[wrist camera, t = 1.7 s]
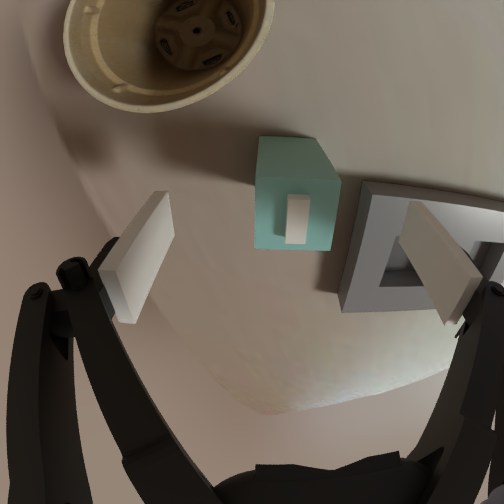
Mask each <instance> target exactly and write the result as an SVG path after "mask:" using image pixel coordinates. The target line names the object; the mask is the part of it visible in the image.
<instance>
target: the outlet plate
mask: <svg viewBox="0 0 504 504" xmlns="http://www.w3.org/2000/svg"><path fill="white" fill-rule="evenodd" d="M410 200H412V201H421V202H422V203H423V204H424V205H425V206H426V207H427V209H428V210H429V211H430V212H431V213H432V214H433V215H434V216H435V217H436V219H437V220H438V221H439V222H440V223H441V224H442V225H443V227H444V228H445V229H446V230H447V231H448V232H449V234H450V235H451V236H452V237H453V238H454V240H455V241H456V242H457V243H458V245H459V246H460V247H461V248H463V249H464V250H465V251H466V252H467V253H468V254H469V255H470V257H471V258H472V260H473V261H474V262H475V263H476V265H477V266H478V267H479V269H480V270H481V271H482V273H483V274H484V275H485V277H486V278H487V280H488V281H494V282H497V283H499V284H500V285H501V283H502V282H503V280H504V202H501V201H496V200H491V199H486V198H481V197H476V196H471V195H465V194H459V193H453V192H447V191H441V190H435V189H428V188H421V187H413V186H406V185H397V184H389V183H380V182H370V181H362V187H361V193H360V198H359V203H358V209H357V214H356V219H355V223H354V228H353V233H352V237H351V242H350V246H349V251H348V255H347V259H346V263H345V267H344V271H343V275H342V279H341V283H340V287H339V291H338V298H339V302H340V307H341V311H342V313H354V312H387V311H408V310H426V309H436V308H435V306H434V304H433V302H432V300H431V298H430V296H429V294H428V292H427V290H426V288H425V287H424V285H423V283H422V281H421V279H420V278H419V276H418V274H417V272H416V270H415V269H414V267H413V265H412V263H411V262H410V260H409V258H408V257H407V255H406V253H405V252H404V250H403V248H402V247H401V245H400V243H399V242H398V241H399V238H400V235H401V231H402V228H403V224H404V221H405V217H406V213H407V210H408V206H409V202H410Z"/></svg>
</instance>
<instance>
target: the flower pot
mask: <svg viewBox="0 0 504 504" xmlns="http://www.w3.org/2000/svg"><path fill="white" fill-rule="evenodd" d="M189 1H193V3H194V4H193V5H192V6H190V7H188V8H185V9H183V10H181V11H180V12H179V11H178V10H177V7H178V6H179V5H181V4H184V3H187V2H189ZM274 6H275V0H71V1H70V4H69V6H68V9H67V12H66V16H65V20H64V31H63V44H64V49H65V56H66V58H67V62H68V64H69V67H70V69H71V71H72V73H73V75H74V77H75V78H76V79H77V81H78V82H79V83H80V85H81V86H82V87H83V88H84V89H85V90H86V91H87V92H88V93H89V94H91V95H92V96H93V97H94V98H95V99H97V100H99V101H101V102H103V103H104V104H106V105H109V106H111V107H113V108H116V109H119V110H124V111H129V112H135V113H155V112H164V111H170V110H174V109H178V108H181V107H184V106H187V105H190V104H192V103H195V102H197V101H199V100H201V99H203V98H205V97H207V96H209V95H211V94H213V93H214V92H216V91H217V90H219V89H221V88H222V87H223V86H225V85H226V84H228V83H229V82H230V81H231V80H233V79H234V78H235V77H236V76H237V75H238V74H239V73H241V72H242V70H243V69H244V68H245V67H246V66H247V65H248V64H249V63H250V62H251V61H252V59H253V58H254V57H255V56H256V54H257V53H258V51H259V49H260V48H261V46H262V44H263V43H264V41H265V39H266V37H267V34H268V32H269V29H270V26H271V23H272V19H273V14H274ZM228 11H230V13H231V14H232V16H233V18H234V20H235V23H234V24H233V25H232V24H231V22H230V20H227V19H228V15H227V14H226V13H227V12H228ZM195 28H199V29H200V32H199V33H198V34H196V33H194V29H195ZM163 39H165V40H167V42H168V46H169V47H170V49H171V51H172V53H171V54H169V53H168V52H167V51H166V50H165V49H164V47H163V45H162V43H161V41H162V40H163ZM217 55H221V57H222V58H221V59H220V60H219V61H218V62H216V63H213V64H212V65H205V64H204V61H206V60H209V59H210V58H213V57H215V56H217Z"/></svg>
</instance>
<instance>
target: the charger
mask: <svg viewBox="0 0 504 504" xmlns="http://www.w3.org/2000/svg"><path fill="white" fill-rule="evenodd" d="M341 184H342V180H341V179H340V177H339V175H338V174H337V172H336V170H335V169H334V167H333V165H332V164H331V162H330V160H329V159H328V157H327V156H326V154H325V152H324V151H323V149H322V148H321V146H320V145H319V143H318V141H317V140H316V139H313V138H297V137H275V136H259V144H258V155H257V165H256V175H255V249H279V250H314V251H330V249H331V244H332V238H333V233H334V227H335V222H336V216H337V210H338V203H339V197H340V190H341Z"/></svg>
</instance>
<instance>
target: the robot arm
mask: <svg viewBox="0 0 504 504" xmlns="http://www.w3.org/2000/svg"><path fill="white" fill-rule="evenodd" d="M174 236H175V234H174V228H173V222H172V215H171V209H170V202H169V194H168V191H155V192H154V193H153V194H152V195H151V197H150V198H149V199H148V200H147V202H146V203H145V204H144V206H143V207H142V208H141V209H140V211H139V212H138V213H137V215H136V216H135V217H134V219H133V220H132V221H131V223H130V224H129V225H128V227H127V228H126V230H125V231H124V232H123V234H122V235H121V236H120V237H114V238H112V239H111V240H110V241H108V242H107V243H106V244H105V246H104V247H103V248H102V250H101V252H99V254H98V255H97V257H96V258H95V259H94V261H93V262H92V264H91V265H90V267H89V266H88V263H87V261H86V259H85V258H83V257H73V258H70V259H68V260H66V261H64V262H63V263H62V264H61V265H60V266H59V267H58V269H57V271H56V275H57V277H58V280H59V282H60V284H61V286H62V288H63V289H60V290H55V291H51V289H50V287H49V286H48V285H47V283H44V282H39V283H36V284H34V285H32V286H31V287H29V289H28V290H27V291H26V292H25V294H24V296H23V300H22V304H21V309H20V313H19V317H18V322H17V327H16V332H15V338H14V344H13V350H12V357H11V364H10V372H9V382H8V394H7V416H6V421H7V422H6V424H7V425H6V434H7V435H6V436H7V458H8V469H9V479H10V487H9V495H8V504H93V501H92V496H91V491H90V487H89V483H88V478H87V474H86V469H85V464H84V459H83V453H82V447H81V441H80V435H79V428H78V419H77V411H76V399H75V385H74V361H73V337H75V338H76V341H77V345H78V348H79V351H80V354H81V358H82V360H83V364H84V367H85V370H86V372H87V375H88V378H89V381H90V383H91V386H92V389H93V391H94V394H95V396H96V399H97V401H98V404H99V406H100V409H101V411H102V413H103V416H104V418H105V420H106V422H107V425H108V427H109V429H110V431H111V433H112V435H113V437H114V439H115V441H116V443H117V445H118V447H119V449H120V451H121V453H122V456H123V458H122V464H123V467H124V469H125V471H126V473H127V475H128V477H129V479H130V481H131V482H132V484H133V486H134V487H135V489H136V490H137V492H138V494H139V495H140V497H141V498H142V500H143V501H144V503H145V504H474V502H475V499H476V497H477V495H478V493H479V490H480V488H481V485H482V483H483V480H484V478H485V475H486V472H487V470H488V467H489V464H490V461H491V465H490V473H489V482H488V499H487V500H485V501H483V502H482V503H481V504H504V287H503V286H502V285H500V284H499V283H497V282H494V281H488V280H487V278H486V277H485V275H484V274H483V273H482V271H481V270H480V269H479V267H478V266H477V265H476V263H475V262H474V261H473V260H472V258H471V257H470V255H469V254H468V253H467V252H466V251H465V250H464V249H463V248H461V247H460V246H459V245H458V243H457V242H456V241H455V240H454V238H453V237H452V236H451V235H450V234H449V232H448V231H447V230H446V229H445V228H444V227H443V225H442V224H441V223H440V222H439V221H438V220H437V219H436V217H435V216H434V215H433V214H432V213H431V212H430V211H429V210H428V209H427V207H426V206H425V205H424V204H423V203H422V202H421V201H412V200H410V202H409V206H408V210H407V213H406V217H405V221H404V224H403V228H402V231H401V235H400V238H399V241H398V242H399V243H400V245H401V247H402V248H403V250H404V252H405V253H406V255H407V257H408V258H409V260H410V262H411V263H412V265H413V267H414V269H415V270H416V272H417V274H418V276H419V278H420V279H421V281H422V283H423V285H424V287H425V288H426V290H427V292H428V294H429V296H430V298H431V300H432V302H433V304H434V306H435V308H436V310H437V312H438V314H439V316H440V318H441V320H442V322H443V324H444V326H445V325H453V324H457V322H458V321H459V319H460V317H461V316H462V314H463V316H464V318H465V322H464V323H463V325H462V326H461V328H460V329H459V331H458V332H457V334H456V335H455V338H457V336H458V335H459V339H458V342H457V346H456V349H455V352H454V356H453V359H452V362H451V365H450V368H449V371H448V374H447V377H446V380H445V382H444V385H443V388H442V391H441V393H440V396H439V398H438V401H437V403H436V405H435V408H434V410H433V413H432V415H431V417H430V419H429V421H428V424H427V426H426V428H425V430H424V432H423V434H422V436H421V438H420V440H419V442H418V444H417V446H416V447H415V448H414V450H413V451H412V452H411V453H410V454H409V455H408V456H407V458H400V455H399V451H396V452H391V453H386V454H381V455H376V456H370V457H367V458H364V459H361V460H359V461H357V462H354V463H352V464H349V465H347V466H344V467H341V468H338V469H336V470H325V469H318V468H312V467H306V466H300V465H295V464H286V465H260V464H259V465H258V464H256V466H255V470H252V471H247V472H244V473H240V474H237V475H235V476H232V477H230V478H228V479H226V480H224V481H222V482H221V483H219V484H218V485H216V486H215V487H213V486H212V485H211V483H210V482H209V481H208V480H207V478H205V476H204V475H203V473H202V472H201V471H200V470H199V468H198V467H197V466H196V464H195V463H194V462H193V461H192V459H191V458H190V457H189V455H188V454H187V452H186V451H185V450H184V448H183V447H182V445H181V444H180V442H179V441H178V439H177V438H176V437H175V435H174V434H173V432H172V430H171V429H170V428H169V426H168V424H167V423H166V421H165V420H164V418H163V416H162V415H161V413H160V412H159V410H158V408H157V407H156V405H155V403H154V402H153V400H152V398H151V397H150V395H149V393H148V391H147V390H146V388H145V386H144V384H143V382H142V381H141V379H140V377H139V375H138V373H137V371H136V369H135V368H134V366H133V364H132V362H131V360H130V358H129V356H128V354H127V352H126V350H125V348H124V346H123V344H122V341H121V339H120V337H119V335H118V333H117V331H116V329H115V326H114V324H113V322H112V317H113V316H114V314H116V316H117V318H118V320H119V322H122V323H131V324H136V322H137V319H138V317H139V314H140V312H141V309H142V307H143V305H144V302H145V300H146V298H147V295H148V293H149V291H150V288H151V286H152V284H153V281H154V279H155V277H156V275H157V272H158V270H159V268H160V266H161V263H162V261H163V259H164V257H165V255H166V253H167V250H168V248H169V246H170V244H171V242H172V240H173V238H174ZM495 409H496V416H495V431H494V430H492V429H491V426H492V421H493V418H494V414H495Z"/></svg>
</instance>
